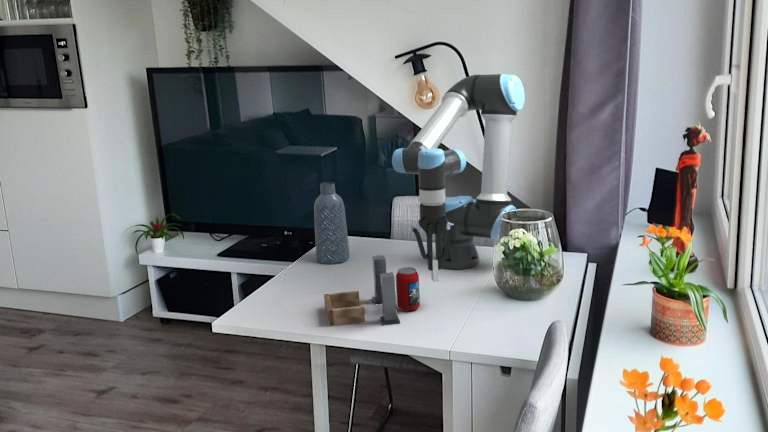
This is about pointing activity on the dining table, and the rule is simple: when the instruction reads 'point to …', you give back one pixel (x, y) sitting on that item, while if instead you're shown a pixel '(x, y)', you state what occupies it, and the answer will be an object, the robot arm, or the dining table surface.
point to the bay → (344, 308)
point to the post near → (388, 299)
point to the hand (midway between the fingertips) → (434, 280)
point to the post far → (378, 277)
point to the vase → (330, 226)
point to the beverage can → (407, 289)
